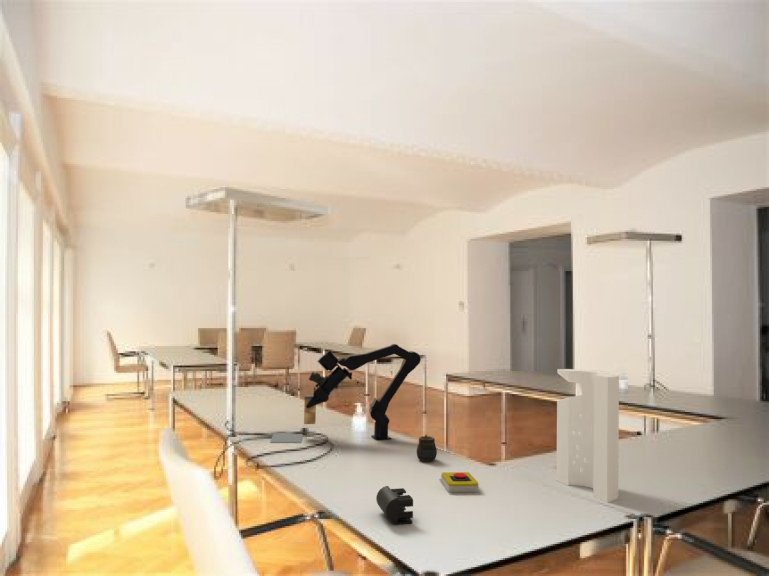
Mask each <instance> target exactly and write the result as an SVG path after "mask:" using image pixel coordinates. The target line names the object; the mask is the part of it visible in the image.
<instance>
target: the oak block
mask: <svg viewBox="0 0 769 576" xmlns="http://www.w3.org/2000/svg"><path fill="white" fill-rule="evenodd" d="M312 397H313V394H304V403H303V405H304V406H303V407H304V410H303V411H304V412H303V425H316V421H317V420H316V418H317V415H316V414H317V412H316V411H317V405H315V406H312V407H310V408H306V405H307V404H308V403H309V401H310V400H311V398H312Z"/></svg>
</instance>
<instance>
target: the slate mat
mask: <svg viewBox="0 0 769 576" xmlns="http://www.w3.org/2000/svg"><path fill="white" fill-rule="evenodd" d="M302 440H303V433H273V434H272V437H271V438H270V441H269V443H270V444H274V443H275V444H276V443H277V444H278V443H279V444H280V443H281V444H288V443H289V444H291V443H292V444H298V443H302Z"/></svg>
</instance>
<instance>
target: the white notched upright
mask: <svg viewBox="0 0 769 576" xmlns="http://www.w3.org/2000/svg"><path fill="white" fill-rule="evenodd" d="M556 370H557V372H556V373H557V374H558V375H559V376H560V377H562V378H563V379H564V380H565V381H566V382H568V383H575V395H574V396H567V397H564V398H562V399H559V400H557V401H556V471H555V472H556V477H555V479H556V482H559V483H561V484H564V485H566V486H581V487H586V488H591V489H593V491H592V493H593V494H592V496H593V498H596V499H599V500H600V501H603V502H605V503H610V502H614V501H615V500H618V498H619V457H620V456H619V447H620V446H619V445H620V444H619V437H620V436H619V434H620V433H619V429H620V428H619V426H620V425H619V424H620V422H619V420H620V415H619V414H620V411H619V410H620V407H619V405H620V395H619V394H620V375H619V374H618V373H615V372H610V371H604V370H603V371H602V370H593V369H592V370H591V369H578V368H577V369H575V368H574V369H573V368H557V369H556Z"/></svg>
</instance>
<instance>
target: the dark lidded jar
mask: <svg viewBox="0 0 769 576" xmlns="http://www.w3.org/2000/svg"><path fill="white" fill-rule="evenodd" d="M435 442H436V441H435V437H433V436H431V435H429V436H428V434H425V435H422V436H419V437H418V445H417V447H416V456H417V459H418V460H419V461H421V462H425V463H429V462H433V461H434V460H436V458H437V456H438V455H437V454H438V450H437V445H436V443H435Z"/></svg>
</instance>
